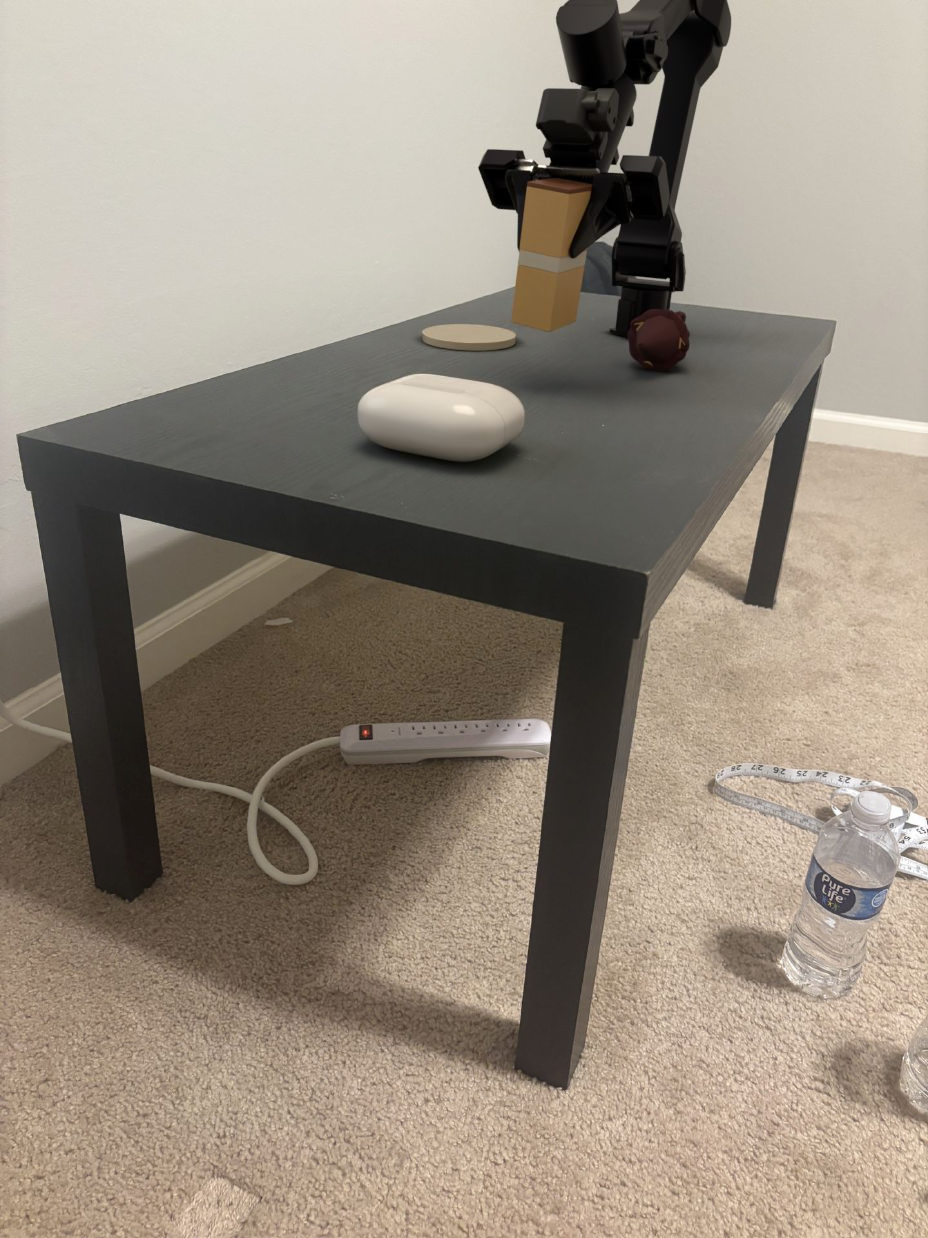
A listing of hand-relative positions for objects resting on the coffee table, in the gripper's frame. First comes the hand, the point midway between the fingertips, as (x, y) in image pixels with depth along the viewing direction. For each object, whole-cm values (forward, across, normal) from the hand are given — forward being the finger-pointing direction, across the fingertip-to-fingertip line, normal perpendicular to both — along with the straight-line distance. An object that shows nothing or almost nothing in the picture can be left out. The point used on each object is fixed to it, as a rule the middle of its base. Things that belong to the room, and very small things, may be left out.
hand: (545, 252), depth 88 cm
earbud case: (+26, +1, -6) cm, 26 cm away
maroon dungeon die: (-3, +8, +22) cm, 24 cm away
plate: (-4, -17, +23) cm, 29 cm away
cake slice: (+4, 0, +6) cm, 7 cm away
